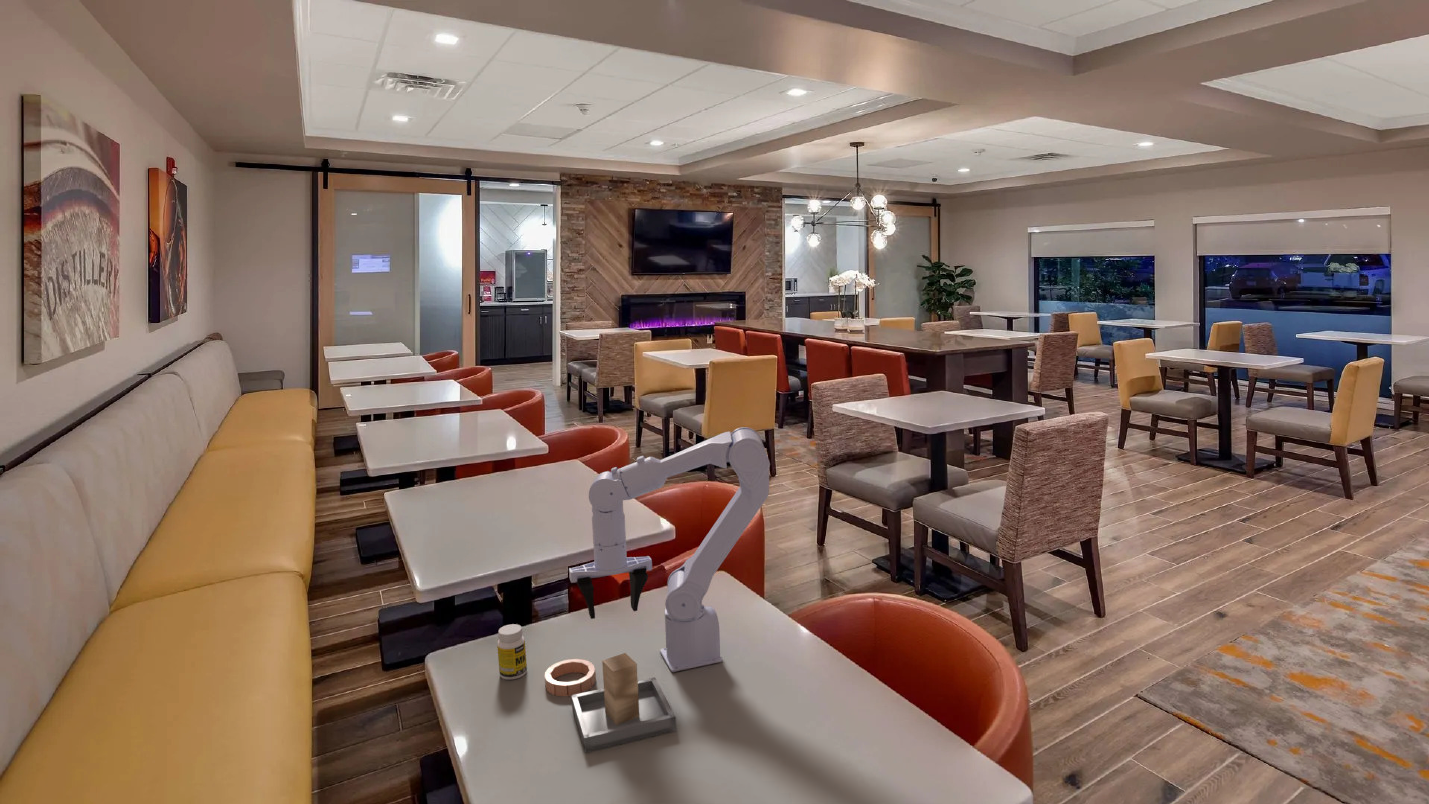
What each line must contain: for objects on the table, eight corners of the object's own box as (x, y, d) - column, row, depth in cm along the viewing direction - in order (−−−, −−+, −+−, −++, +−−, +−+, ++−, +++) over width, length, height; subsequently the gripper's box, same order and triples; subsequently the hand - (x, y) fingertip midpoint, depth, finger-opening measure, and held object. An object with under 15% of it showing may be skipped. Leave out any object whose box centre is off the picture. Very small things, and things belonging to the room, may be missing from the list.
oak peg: (628, 704, 121) (625, 652, 119) (639, 716, 117) (636, 663, 116) (605, 712, 119) (602, 660, 117) (616, 725, 115) (613, 671, 114)
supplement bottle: (519, 681, 130) (516, 636, 128) (494, 679, 131) (490, 634, 129) (531, 667, 134) (528, 623, 133) (507, 665, 135) (503, 622, 134)
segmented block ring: (590, 665, 134) (589, 655, 134) (599, 689, 127) (598, 679, 126) (543, 675, 132) (542, 664, 131) (549, 700, 124) (548, 689, 123)
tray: (655, 690, 126) (655, 677, 125) (676, 730, 115) (675, 716, 114) (572, 708, 121) (571, 695, 121) (585, 752, 110) (584, 738, 110)
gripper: (644, 527, 138) (646, 596, 140) (564, 538, 133) (569, 610, 135) (654, 540, 131) (656, 612, 134) (571, 552, 126) (575, 627, 129)
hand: (613, 612), depth 134 cm, fingers open, 7 cm apart
